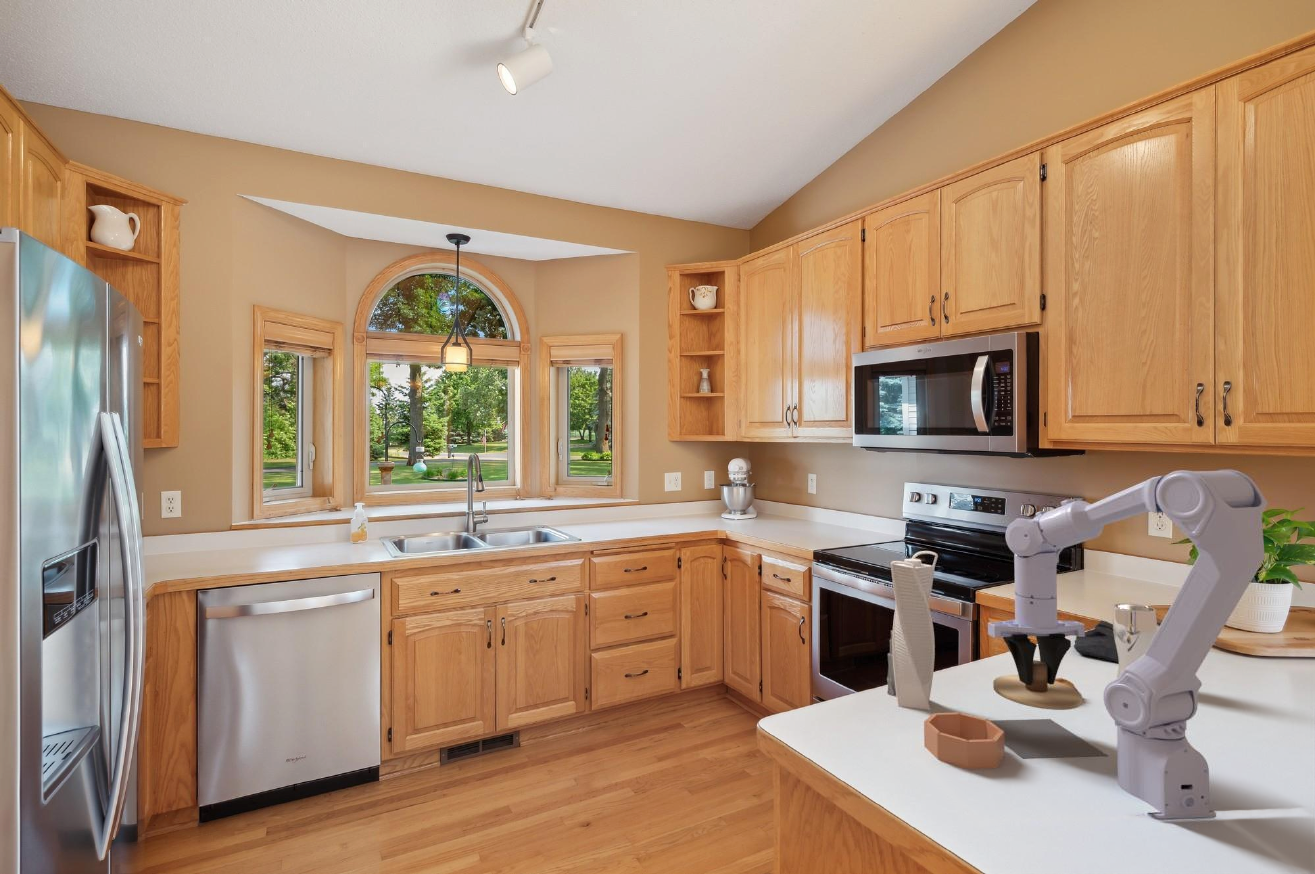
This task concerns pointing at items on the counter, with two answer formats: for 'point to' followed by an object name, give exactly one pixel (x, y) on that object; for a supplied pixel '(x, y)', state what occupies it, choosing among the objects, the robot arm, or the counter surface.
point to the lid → (1038, 690)
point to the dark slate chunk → (1098, 642)
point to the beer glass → (1132, 632)
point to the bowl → (964, 740)
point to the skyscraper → (912, 633)
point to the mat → (1043, 739)
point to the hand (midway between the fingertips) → (1036, 682)
